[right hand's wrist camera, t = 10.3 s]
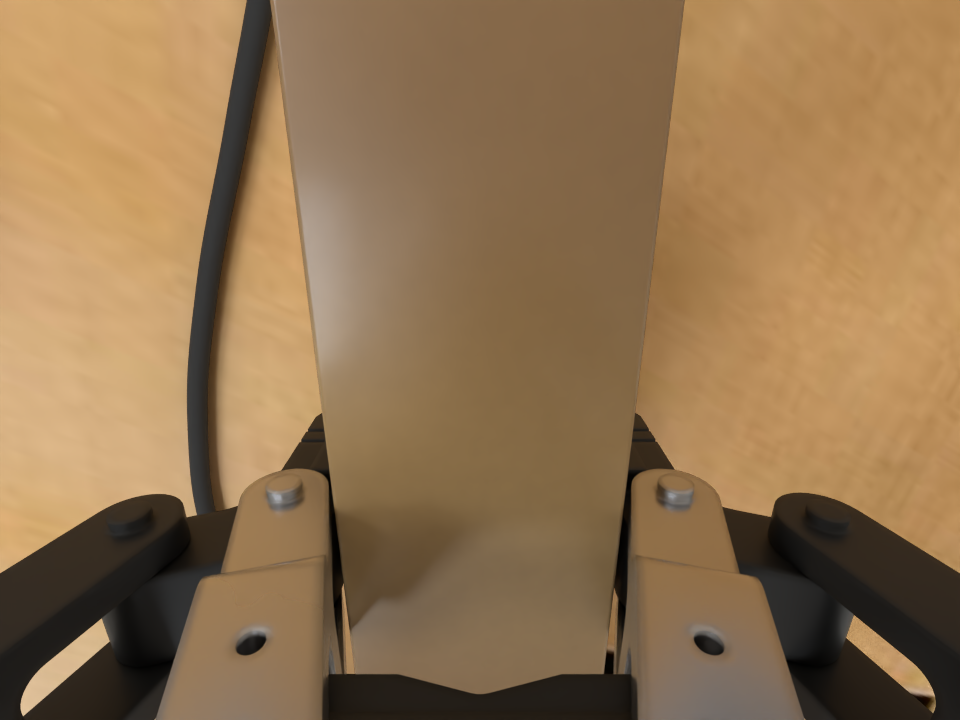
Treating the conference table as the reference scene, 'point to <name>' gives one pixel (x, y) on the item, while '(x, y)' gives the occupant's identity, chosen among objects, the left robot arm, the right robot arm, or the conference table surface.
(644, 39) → the beam
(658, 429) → the conference table surface
